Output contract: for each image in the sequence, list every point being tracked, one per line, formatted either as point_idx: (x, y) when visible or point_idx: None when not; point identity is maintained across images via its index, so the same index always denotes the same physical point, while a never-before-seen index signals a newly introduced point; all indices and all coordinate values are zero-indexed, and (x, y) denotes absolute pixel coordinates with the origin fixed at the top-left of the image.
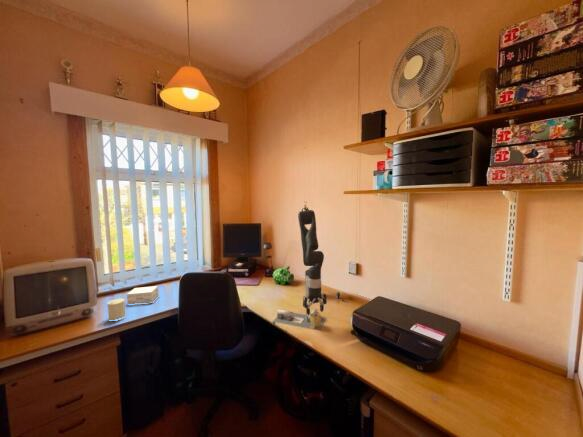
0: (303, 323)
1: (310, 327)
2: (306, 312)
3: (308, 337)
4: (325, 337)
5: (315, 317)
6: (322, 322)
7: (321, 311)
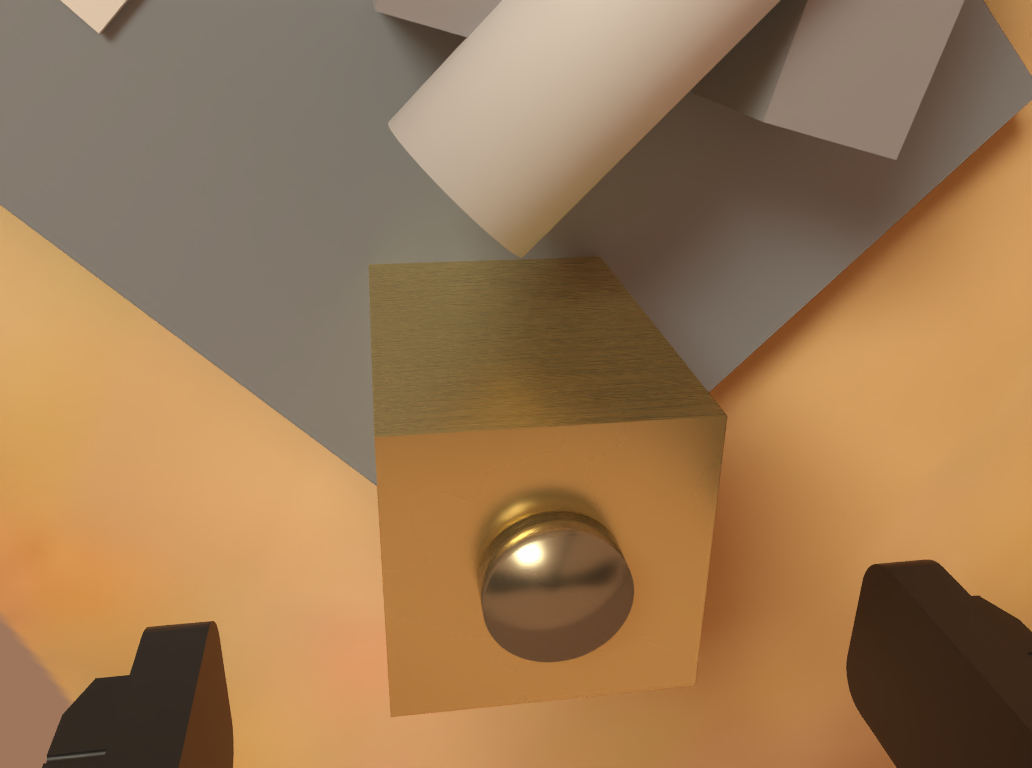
0: (201, 63)
1: (327, 373)
2: (78, 703)
3: (143, 622)
4: (501, 711)
5: (470, 690)
6: (781, 255)
7: (855, 669)
